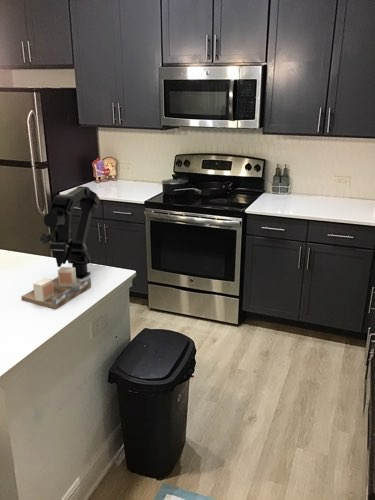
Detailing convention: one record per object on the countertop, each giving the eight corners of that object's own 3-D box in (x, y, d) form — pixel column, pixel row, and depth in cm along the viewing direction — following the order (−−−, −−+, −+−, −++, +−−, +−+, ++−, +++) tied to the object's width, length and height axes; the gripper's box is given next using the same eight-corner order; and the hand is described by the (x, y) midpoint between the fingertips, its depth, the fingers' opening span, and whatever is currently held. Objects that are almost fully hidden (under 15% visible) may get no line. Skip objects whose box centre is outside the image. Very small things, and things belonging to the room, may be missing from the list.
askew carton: (62, 282, 184) (61, 266, 181) (76, 282, 183) (75, 267, 181) (59, 286, 179) (57, 270, 177) (73, 287, 179) (71, 271, 177)
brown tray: (59, 279, 190) (58, 270, 188) (91, 287, 183) (90, 278, 181) (21, 299, 171) (20, 290, 170) (55, 309, 164) (54, 299, 163)
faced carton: (35, 299, 168) (33, 283, 165) (46, 293, 173) (44, 277, 171) (43, 302, 166) (41, 285, 164) (54, 295, 171) (52, 279, 169)
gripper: (47, 224, 183) (46, 261, 184) (36, 226, 164) (34, 267, 166) (74, 226, 184) (73, 262, 185) (66, 228, 165) (64, 269, 167)
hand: (61, 265), depth 176 cm, fingers open, 9 cm apart
